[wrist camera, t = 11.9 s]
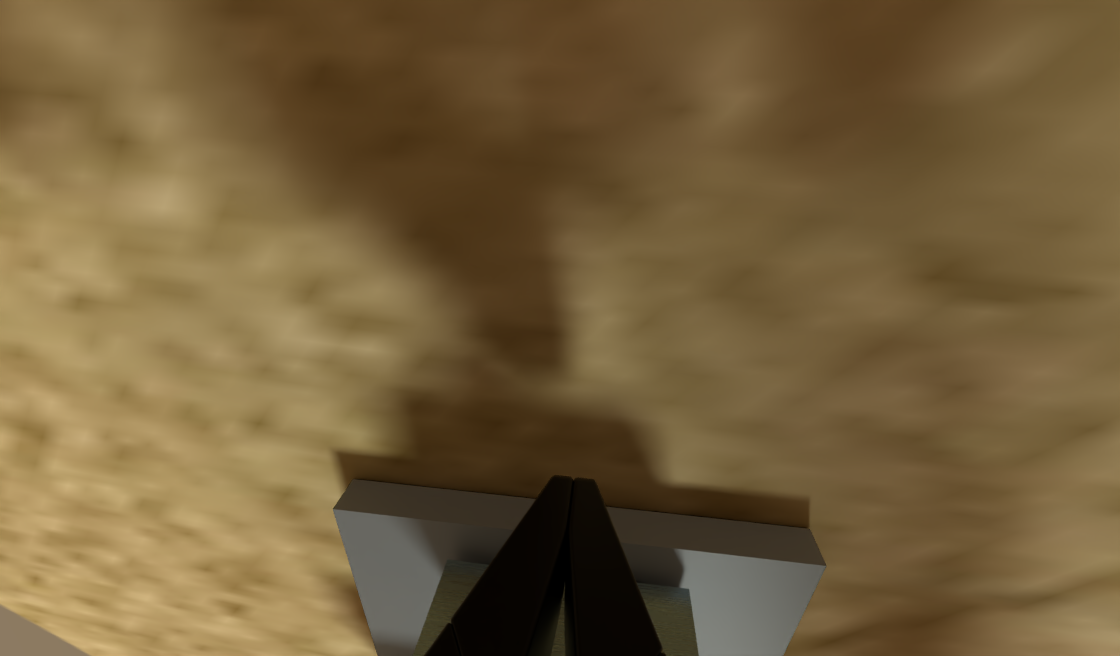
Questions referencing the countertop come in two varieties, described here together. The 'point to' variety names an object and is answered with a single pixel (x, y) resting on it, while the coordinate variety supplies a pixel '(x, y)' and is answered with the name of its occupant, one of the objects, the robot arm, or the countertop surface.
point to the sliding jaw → (662, 604)
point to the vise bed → (646, 537)
